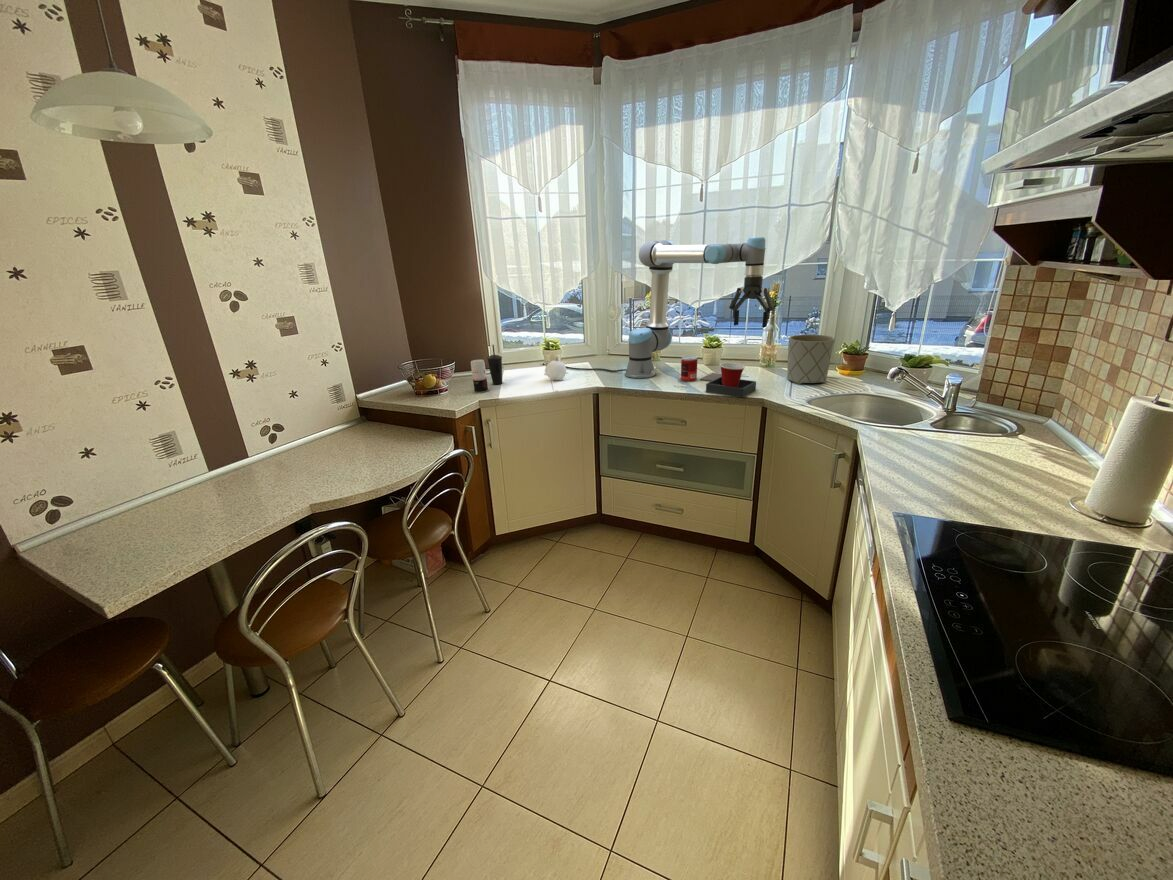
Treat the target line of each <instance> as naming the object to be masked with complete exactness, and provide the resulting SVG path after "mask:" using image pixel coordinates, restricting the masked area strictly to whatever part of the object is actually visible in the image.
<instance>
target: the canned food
mask: <svg viewBox="0 0 1173 880" xmlns="http://www.w3.org/2000/svg"><path fill="white" fill-rule="evenodd" d="M697 379H698V356H695V355H684V356H682V357H681V360H680V380H681V381H683V382H695V381H696V380H697Z"/></svg>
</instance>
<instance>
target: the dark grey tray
mask: <svg viewBox="0 0 1173 880" xmlns="http://www.w3.org/2000/svg"><path fill="white" fill-rule="evenodd" d="M756 390H757V381H755V380H750V379H749V380H748V379H741V378H740V382H739V385H738V388H736V387H729V386H723V384H722V377H719V378H717V379H715V380H713V381H708V382H707V383H705V393H708V394H715V395H723V396H727V397H734V398H740V399H743V398H745V397H746V396H748V395H750V394H752V393H754V392H756Z"/></svg>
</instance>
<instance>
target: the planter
mask: <svg viewBox="0 0 1173 880" xmlns="http://www.w3.org/2000/svg"><path fill="white" fill-rule="evenodd" d="M835 340H836V338H835V337H833V336H829V335H826V334H825V335H824V334H795V335H791V336H789V337H788V346H787V367H786V369H787V371H786V372H787V373H786V378H787V380H789V381H791V382H793V383H794V384H796V385H801V384H816V383H817V384H818V383H822V384H825V383H826V381H827V379H828V374H829V369H830V364H831V360H832V355H833V350H834V346H835Z"/></svg>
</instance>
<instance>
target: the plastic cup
mask: <svg viewBox="0 0 1173 880" xmlns="http://www.w3.org/2000/svg"><path fill="white" fill-rule="evenodd" d="M719 367H720V372H721V373H720V374H722V384H723V386H729V387H736V388H738V385H739V382H740V379H741V377H742V374H743V372H744V370H745V368H746V366H745V365H742V364H740V363H734V362H722V363H720V364H719Z"/></svg>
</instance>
